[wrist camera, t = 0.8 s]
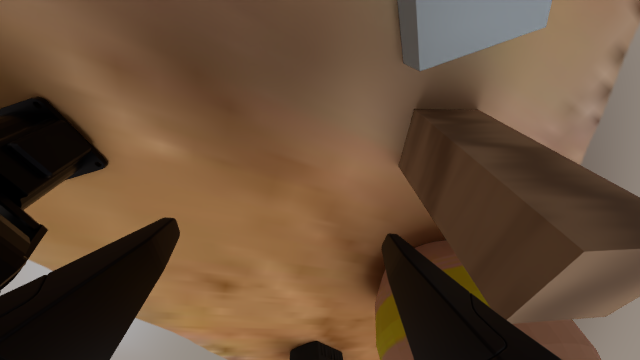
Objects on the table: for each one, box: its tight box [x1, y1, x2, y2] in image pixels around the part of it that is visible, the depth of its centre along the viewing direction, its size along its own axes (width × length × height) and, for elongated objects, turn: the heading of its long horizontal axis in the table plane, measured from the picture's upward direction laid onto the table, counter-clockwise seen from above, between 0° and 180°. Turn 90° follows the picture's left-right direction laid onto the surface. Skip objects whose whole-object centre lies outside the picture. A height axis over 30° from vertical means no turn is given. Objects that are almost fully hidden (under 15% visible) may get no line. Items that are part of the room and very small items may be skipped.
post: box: [399, 109, 640, 324], centre depth 16 cm, size 6×6×15 cm
